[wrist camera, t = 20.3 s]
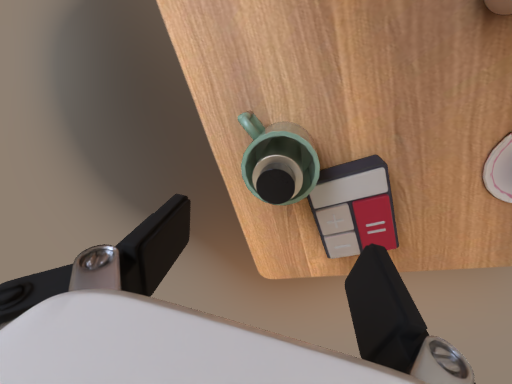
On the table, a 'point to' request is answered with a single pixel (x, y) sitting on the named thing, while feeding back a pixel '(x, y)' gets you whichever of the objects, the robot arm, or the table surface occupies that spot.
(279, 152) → the flask
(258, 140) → the mug
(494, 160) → the teacup
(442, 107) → the table surface
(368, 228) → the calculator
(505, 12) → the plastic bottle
